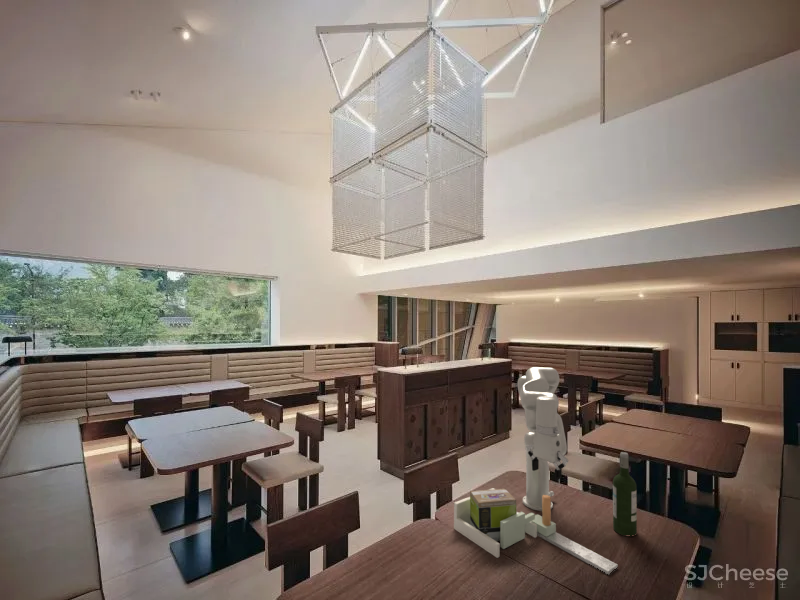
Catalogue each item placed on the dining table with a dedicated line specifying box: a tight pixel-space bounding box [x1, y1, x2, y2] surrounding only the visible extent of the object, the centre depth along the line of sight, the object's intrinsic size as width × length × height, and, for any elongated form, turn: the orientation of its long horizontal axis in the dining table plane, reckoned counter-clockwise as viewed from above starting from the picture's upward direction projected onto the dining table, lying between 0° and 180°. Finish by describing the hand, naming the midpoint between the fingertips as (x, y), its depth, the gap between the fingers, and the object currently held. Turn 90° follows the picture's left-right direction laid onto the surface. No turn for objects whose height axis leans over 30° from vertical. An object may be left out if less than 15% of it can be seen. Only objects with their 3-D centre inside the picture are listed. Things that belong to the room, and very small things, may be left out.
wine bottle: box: [612, 451, 638, 536], centre depth 149 cm, size 8×8×30 cm
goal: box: [453, 487, 538, 559], centre depth 146 cm, size 22×22×10 cm
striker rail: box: [516, 511, 619, 576], centre depth 141 cm, size 6×40×1 cm, turn 35°
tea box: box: [469, 488, 517, 542], centre depth 146 cm, size 15×10×15 cm
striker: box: [499, 495, 557, 550], centre depth 142 cm, size 24×8×14 cm, turn 125°
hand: (546, 474), depth 146 cm, fingers open, 9 cm apart
